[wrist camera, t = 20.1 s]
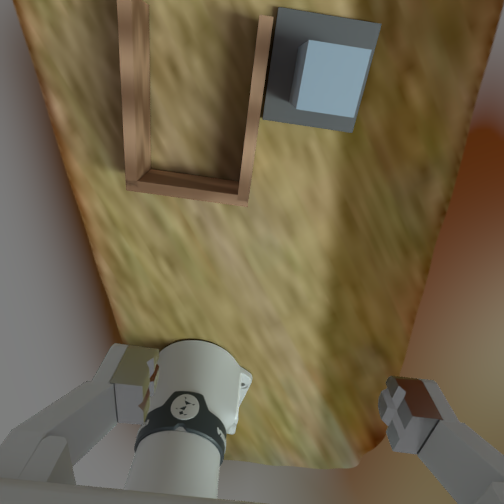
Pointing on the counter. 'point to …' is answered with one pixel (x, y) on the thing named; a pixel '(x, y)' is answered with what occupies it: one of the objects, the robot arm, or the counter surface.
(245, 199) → the frame
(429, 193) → the counter surface
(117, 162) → the counter surface
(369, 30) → the pad
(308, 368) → the counter surface
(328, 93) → the block
